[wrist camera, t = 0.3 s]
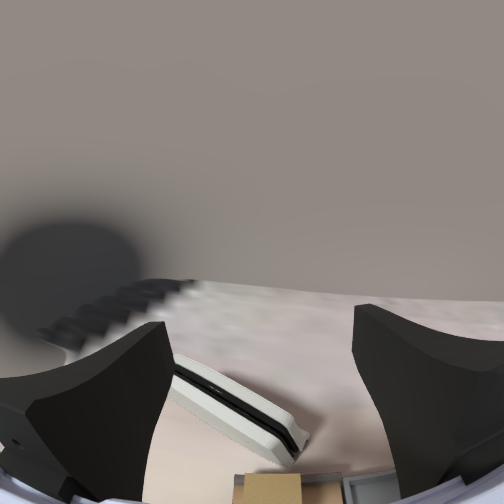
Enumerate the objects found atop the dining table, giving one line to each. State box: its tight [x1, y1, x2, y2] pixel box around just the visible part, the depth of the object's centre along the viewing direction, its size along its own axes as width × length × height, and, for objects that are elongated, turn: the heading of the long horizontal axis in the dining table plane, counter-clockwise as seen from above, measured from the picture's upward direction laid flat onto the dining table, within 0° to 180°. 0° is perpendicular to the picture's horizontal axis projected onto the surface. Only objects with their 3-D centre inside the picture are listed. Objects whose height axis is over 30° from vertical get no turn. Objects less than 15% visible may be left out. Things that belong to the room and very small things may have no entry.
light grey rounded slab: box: [168, 354, 310, 469], centre depth 26 cm, size 17×5×10 cm, turn 54°
